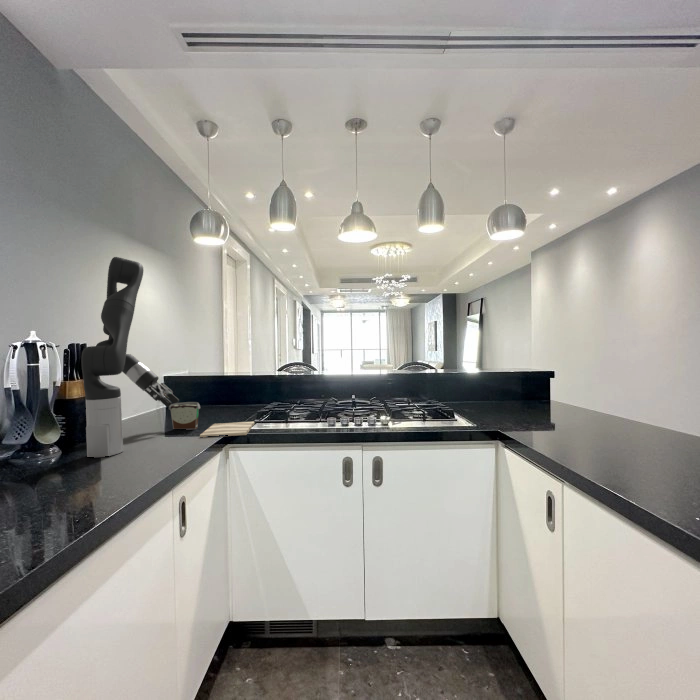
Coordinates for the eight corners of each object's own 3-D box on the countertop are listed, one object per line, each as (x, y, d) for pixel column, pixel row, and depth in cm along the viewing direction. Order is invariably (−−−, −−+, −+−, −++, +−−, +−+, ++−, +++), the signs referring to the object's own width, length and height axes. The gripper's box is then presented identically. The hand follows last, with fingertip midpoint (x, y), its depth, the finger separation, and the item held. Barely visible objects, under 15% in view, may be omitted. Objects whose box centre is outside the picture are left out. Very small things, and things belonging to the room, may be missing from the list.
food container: (206, 425, 159) (205, 401, 159) (199, 429, 153) (198, 403, 153) (178, 426, 161) (177, 402, 160) (169, 429, 154) (168, 404, 154)
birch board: (246, 434, 140) (246, 432, 139) (200, 437, 138) (199, 434, 138) (254, 423, 159) (254, 421, 159) (214, 426, 158) (214, 423, 158)
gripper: (141, 370, 148) (174, 399, 149) (156, 368, 162) (186, 394, 164) (127, 385, 148) (160, 413, 149) (143, 381, 162) (173, 407, 163)
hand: (173, 403), depth 156 cm, fingers open, 8 cm apart
